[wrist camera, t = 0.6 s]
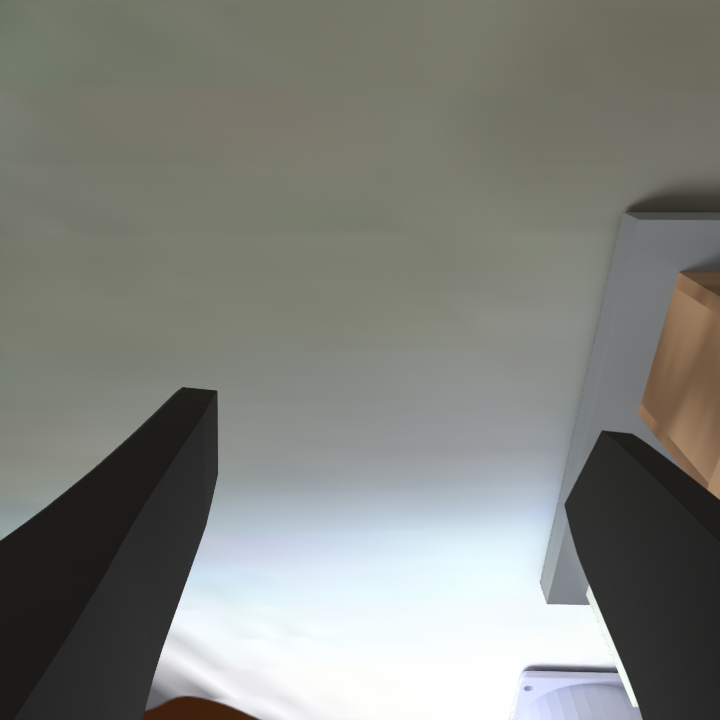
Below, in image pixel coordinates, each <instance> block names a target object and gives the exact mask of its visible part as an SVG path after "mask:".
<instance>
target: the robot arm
mask: <svg viewBox="0 0 720 720" xmlns="http://www.w3.org/2000/svg"><path fill="white" fill-rule="evenodd" d="M217 476H218V406H217V391H215V390H205V389H196V388H186V387H182V388H181V389H179V390H178V391H177V392H176V393H175V394H173V395H172V396H171V397H170V398H169V399H168V400H167V401H166V402H165V403H164V404H163V405H162V406H161V407H160V408H159V409H158V410H157V411H156V412H155V413H154V414H153V415H152V416H151V417H150V418H149V419H148V420H147V421H146V422H145V423H144V424H143V425H142V426H140V427H139V428H138V429H137V430H136V431H135V432H134V433H133V434H132V435H131V436H130V437H129V438H128V439H126V440H125V441H124V442H123V443H122V444H121V445H120V446H119V447H118V448H116V449H115V450H114V451H113V452H112V453H111V454H110V455H109V456H107V457H106V458H105V459H104V460H103V461H102V462H101V463H100V464H98V465H97V466H96V467H95V468H94V469H93V470H91V471H90V472H89V473H88V474H87V475H85V476H84V477H83V478H82V479H80V480H79V481H78V482H77V483H75V484H74V485H73V486H72V487H71V488H69V489H68V490H67V491H66V492H64V493H63V494H62V495H61V496H59V497H58V498H57V499H56V500H54V501H53V502H52V503H51V504H49V505H48V506H47V507H46V508H44V509H43V510H42V511H40V512H39V513H38V514H36V515H35V516H34V517H32V518H31V519H30V520H28V521H27V522H26V523H24V524H23V525H22V526H20V527H19V528H17V529H16V530H15V531H13V532H12V533H11V534H9V535H8V536H6V537H5V538H3V539H2V540H1V541H0V720H142V719H143V715H144V711H145V708H146V704H147V700H148V696H149V692H150V688H151V685H152V681H153V677H154V674H155V671H156V667H157V664H158V661H159V658H160V655H161V651H162V648H163V645H164V643H165V640H166V637H167V634H168V631H169V629H170V626H171V623H172V620H173V617H174V615H175V612H176V609H177V606H178V603H179V601H180V598H181V595H182V592H183V589H184V587H185V584H186V581H187V578H188V575H189V573H190V570H191V567H192V564H193V561H194V558H195V556H196V553H197V550H198V547H199V544H200V541H201V539H202V536H203V533H204V530H205V527H206V524H207V519H208V515H209V511H210V507H211V503H212V498H213V494H214V489H215V485H216V480H217ZM564 506H565V510H566V514H567V519H568V523H569V527H570V531H571V535H572V538H573V542H574V545H575V549H576V552H577V555H578V558H579V561H580V563H581V566H582V568H583V571H584V573H585V576H586V578H587V581H588V583H589V585H590V588H591V590H592V593H593V595H594V598H595V600H596V602H597V605H598V607H599V610H600V612H601V614H602V617H603V619H604V622H605V624H606V626H607V629H608V631H609V633H610V636H611V638H612V641H613V643H614V645H615V648H616V650H617V653H618V655H619V657H620V660H621V662H622V665H623V667H624V669H625V672H626V674H627V677H628V679H629V682H630V685H631V687H632V690H633V693H634V695H635V698H636V701H637V703H638V706H639V707H633V706H632V703H631V701H630V698H629V696H628V694H627V691H626V689H625V687H624V684H623V682H622V679H621V677H620V675H619V673H597V672H555V671H525V672H523V673H521V674H520V676H519V680H518V684H517V689H516V693H515V698H514V702H513V707H512V711H511V715H510V720H720V499H718V498H717V497H716V496H715V495H713V494H712V493H711V492H709V491H708V490H707V489H706V488H704V487H703V486H702V485H701V484H699V483H698V482H697V481H696V480H694V479H693V478H692V477H690V476H689V475H688V474H687V473H685V472H684V471H683V470H682V469H680V468H679V467H678V466H676V465H675V464H674V463H673V462H671V461H670V460H669V459H667V458H666V457H665V456H663V455H662V454H661V453H659V452H658V451H657V450H655V449H654V448H653V447H651V446H650V445H649V444H647V443H646V442H644V441H643V440H641V439H640V438H638V437H637V436H635V435H634V434H632V433H623V432H613V431H604V430H602V431H601V433H600V435H599V437H598V439H597V441H596V443H595V445H594V447H593V449H592V451H591V453H590V455H589V457H588V459H587V461H586V463H585V465H584V467H583V469H582V471H581V472H580V474H579V476H578V478H577V480H576V482H575V484H574V486H573V488H572V490H571V492H570V494H569V496H568V498H567V500H566V502H565V504H564Z"/></svg>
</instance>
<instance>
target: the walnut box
mask: <svg viewBox="0 0 720 720" xmlns="http://www.w3.org/2000/svg"><path fill="white" fill-rule="evenodd" d="M638 416H639V417H640V418H641V419H642V421H643V422H644V423H645V424H646V426H647V427H648V428H649V429H650V431H651V432H652V433H653V434H654V435H655V437H656V438H657V439H658V440H659V442H660V443H661V444H662V445H663V447H664V448H665V449H666V450H667V451H668V453H669V454H670V455H671V456H672V458H673V459H674V460H675V461H676V463H677V464H678V465H679V466H680V468H681V469H682V470H683V471H684V472H685V473H687V474H688V475H689V476H690V477H692V478H693V479H694V480H696V481H697V482H698V483H699V484H701V485H702V486H703V487H704V488H706V489H707V490H708V491H709V492H711V493H712V494H713V495H715V496H716V497H717V498H718V499H720V272H679V273H678V276H677V280H676V283H675V287H674V290H673V294H672V297H671V301H670V304H669V307H668V311H667V314H666V318H665V321H664V325H663V328H662V332H661V335H660V339H659V342H658V346H657V349H656V353H655V356H654V360H653V363H652V367H651V370H650V374H649V377H648V381H647V384H646V388H645V391H644V395H643V398H642V402H641V405H640V409H639V412H638Z"/></svg>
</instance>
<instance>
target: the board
mask: <svg viewBox="0 0 720 720" xmlns="http://www.w3.org/2000/svg"><path fill="white" fill-rule="evenodd" d="M679 272H720V212H623V214H622V219H621V223H620V228H619V232H618V236H617V241H616V245H615V250H614V254H613V259H612V263H611V268H610V272H609V277H608V281H607V286H606V290H605V294H604V299H603V303H602V308H601V312H600V317H599V321H598V326H597V330H596V335H595V339H594V343H593V348H592V352H591V357H590V361H589V366H588V370H587V375H586V379H585V384H584V388H583V393H582V397H581V401H580V406H579V410H578V415H577V419H576V424H575V428H574V433H573V437H572V442H571V446H570V451H569V455H568V459H567V464H566V468H565V473H564V477H563V482H562V486H561V491H560V495H559V500H558V504H557V509H556V513H555V517H554V522H553V526H552V531H551V535H550V540H549V544H548V549H547V553H546V558H545V562H544V567H543V571H542V575H541V580H540V585H541V588H542V591H543V594H544V597H545V600H546V603H547V604H568V605H590V603H589V601H588V598H587V596H586V593H587V590H588V586H589V583H588V581H587V578H586V576H585V573H584V571H583V568H582V566H581V563H580V561H579V558H578V555H577V552H576V549H575V545H574V542H573V538H572V535H571V531H570V527H569V523H568V519H567V514H566V510H565V506H564V504H565V502H566V500H567V498H568V496H569V494H570V492H571V490H572V488H573V486H574V484H575V482H576V480H577V478H578V476H579V474H580V472H581V471H582V469H583V467H584V465H585V463H586V461H587V459H588V457H589V455H590V453H591V451H592V449H593V447H594V445H595V443H596V441H597V439H598V437H599V435H600V433H601V431H602V430H604V431H613V432H623V433H632V434H634V435H635V436H637V437H638V438H640V439H641V440H643V441H644V442H646V443H647V444H649V445H650V446H651V447H653V448H654V449H655V450H657V451H658V452H659V453H661V454H662V455H663V456H665V457H666V458H667V459H669V460H670V461H671V462H673V463H674V464H675V465H676V466H678V467H679V468H680V466H679V465H678V464H677V463H676V461H675V460H674V459H673V458H672V456H671V455H670V454H669V453H668V451H667V450H666V449H665V448H664V447H663V445H662V444H661V443H660V442H659V440H658V439H657V438H656V437H655V435H654V434H653V433H652V432H651V431H650V429H649V428H648V427H647V426H646V424H645V423H644V422H643V421H642V419H641V418H640V417H639V416H638V412H639V409H640V405H641V402H642V398H643V395H644V391H645V388H646V384H647V381H648V377H649V374H650V370H651V367H652V363H653V360H654V356H655V353H656V349H657V346H658V342H659V339H660V335H661V332H662V328H663V325H664V321H665V318H666V314H667V311H668V307H669V304H670V301H671V297H672V294H673V290H674V287H675V283H676V280H677V276H678V273H679ZM680 469H681V468H680Z"/></svg>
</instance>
